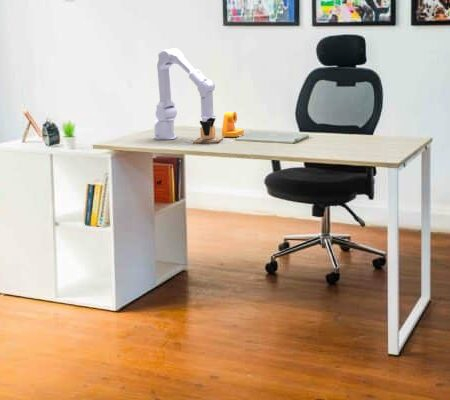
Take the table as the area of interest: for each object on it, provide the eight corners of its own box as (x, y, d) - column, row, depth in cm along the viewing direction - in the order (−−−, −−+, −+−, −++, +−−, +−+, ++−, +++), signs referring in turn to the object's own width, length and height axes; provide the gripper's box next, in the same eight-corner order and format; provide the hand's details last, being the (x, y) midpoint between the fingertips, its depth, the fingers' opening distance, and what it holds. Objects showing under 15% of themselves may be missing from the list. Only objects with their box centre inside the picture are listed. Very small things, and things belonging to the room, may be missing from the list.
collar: (200, 138, 447) (200, 128, 446) (203, 136, 452) (203, 126, 451) (212, 138, 446) (212, 128, 445) (215, 136, 451) (214, 126, 450)
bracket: (235, 138, 457) (234, 113, 454) (222, 137, 460) (221, 113, 457) (244, 134, 466) (243, 110, 463) (231, 134, 469) (230, 110, 466)
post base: (193, 143, 445) (193, 141, 445) (199, 139, 456) (199, 137, 456) (218, 143, 442) (218, 141, 442) (223, 139, 454) (223, 137, 454)
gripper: (211, 108, 438) (213, 136, 441) (218, 104, 452) (219, 132, 455) (197, 108, 439) (198, 137, 442) (204, 104, 453) (205, 132, 456)
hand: (208, 134), depth 449 cm, fingers closed on collar, 5 cm apart
